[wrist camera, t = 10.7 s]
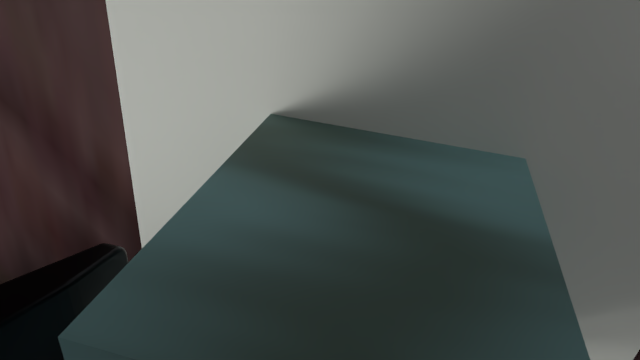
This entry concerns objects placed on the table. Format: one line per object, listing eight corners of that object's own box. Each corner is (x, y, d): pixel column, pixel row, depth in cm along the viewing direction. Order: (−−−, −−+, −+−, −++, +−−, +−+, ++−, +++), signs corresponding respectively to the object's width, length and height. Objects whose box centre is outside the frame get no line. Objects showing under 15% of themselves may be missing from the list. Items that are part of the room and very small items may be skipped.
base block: (201, 287, 17) (156, 351, 14) (175, -93, 11) (91, -99, 8) (546, 372, 15) (566, 465, 12) (751, -39, 9) (875, -24, 6)
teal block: (264, 293, 12) (126, 568, 7) (270, 113, 9) (56, 337, 4) (461, 342, 11) (470, 698, 6) (525, 158, 9) (636, 502, 3)
